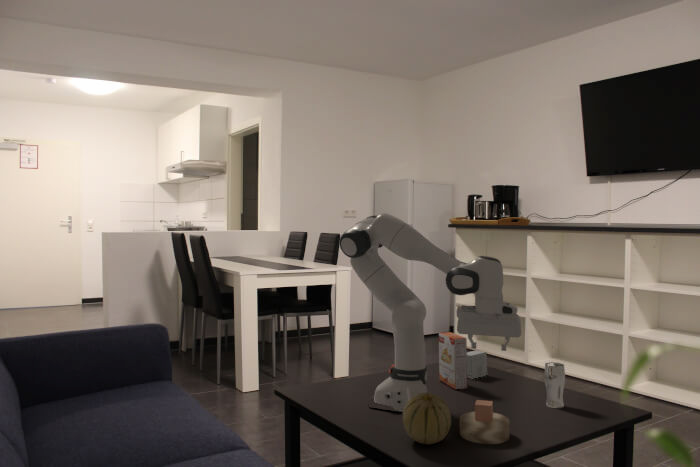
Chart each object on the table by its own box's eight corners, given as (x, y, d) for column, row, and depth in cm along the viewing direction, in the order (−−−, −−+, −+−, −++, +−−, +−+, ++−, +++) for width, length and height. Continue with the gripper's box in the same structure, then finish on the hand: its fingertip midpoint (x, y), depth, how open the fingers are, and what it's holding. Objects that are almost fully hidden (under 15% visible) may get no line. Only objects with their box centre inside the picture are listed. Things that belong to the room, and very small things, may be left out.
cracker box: (438, 381, 236) (438, 332, 236) (451, 380, 237) (450, 331, 237) (454, 390, 222) (453, 338, 222) (467, 389, 224) (467, 337, 224)
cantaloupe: (432, 430, 178) (431, 383, 178) (462, 445, 165) (461, 395, 165) (393, 439, 171) (392, 390, 171) (421, 455, 158) (420, 402, 158)
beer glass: (552, 409, 197) (552, 367, 197) (540, 403, 204) (540, 362, 204) (569, 407, 199) (569, 365, 199) (557, 402, 206) (556, 361, 206)
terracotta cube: (475, 420, 172) (474, 404, 172) (476, 415, 176) (476, 399, 176) (491, 422, 170) (491, 405, 170) (492, 417, 175) (492, 401, 175)
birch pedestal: (456, 441, 168) (456, 424, 168) (462, 424, 183) (462, 409, 183) (508, 446, 164) (508, 429, 164) (510, 429, 178) (510, 413, 178)
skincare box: (475, 373, 250) (475, 349, 250) (487, 376, 244) (487, 352, 244) (460, 377, 243) (460, 353, 243) (472, 380, 238) (471, 355, 238)
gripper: (455, 306, 180) (454, 348, 180) (521, 309, 174) (520, 353, 174) (457, 303, 186) (457, 345, 186) (521, 306, 179) (521, 349, 180)
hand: (488, 349), depth 180 cm, fingers open, 8 cm apart
